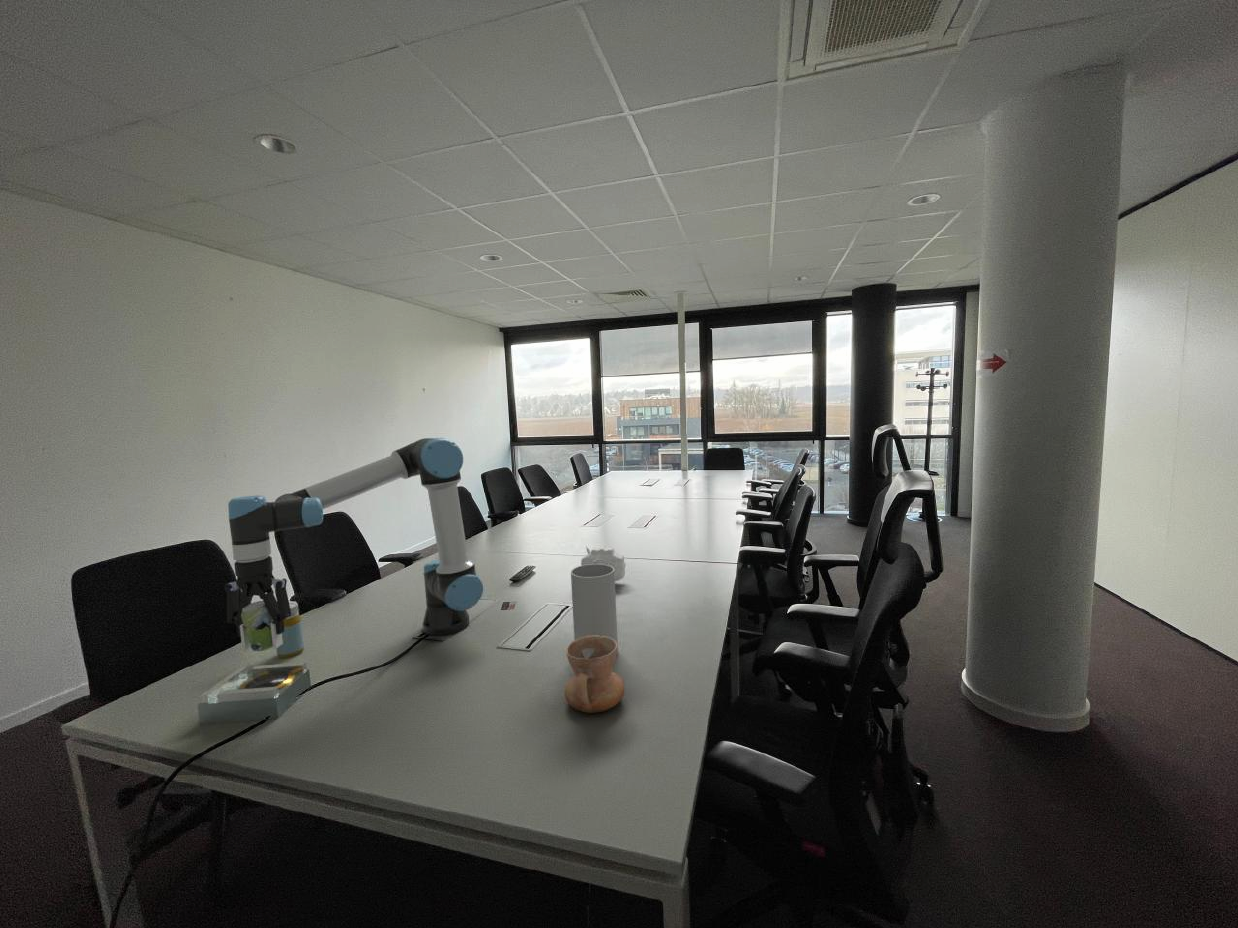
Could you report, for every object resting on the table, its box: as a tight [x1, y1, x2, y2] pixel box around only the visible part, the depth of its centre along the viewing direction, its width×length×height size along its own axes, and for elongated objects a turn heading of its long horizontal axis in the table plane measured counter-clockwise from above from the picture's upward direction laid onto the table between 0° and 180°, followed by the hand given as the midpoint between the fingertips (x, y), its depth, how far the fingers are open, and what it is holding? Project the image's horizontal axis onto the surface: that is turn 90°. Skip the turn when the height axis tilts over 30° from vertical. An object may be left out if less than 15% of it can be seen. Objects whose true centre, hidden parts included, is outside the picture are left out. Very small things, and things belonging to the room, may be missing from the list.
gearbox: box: [197, 662, 312, 725], centre depth 125 cm, size 18×14×7 cm
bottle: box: [275, 602, 305, 659], centre depth 153 cm, size 7×7×15 cm
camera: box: [580, 545, 626, 582], centre depth 203 cm, size 11×18×16 cm, turn 80°
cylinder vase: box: [570, 564, 619, 659], centre depth 143 cm, size 12×12×25 cm
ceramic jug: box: [564, 635, 626, 714], centre depth 118 cm, size 18×14×14 cm
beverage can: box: [241, 600, 274, 653], centre depth 124 cm, size 6×7×12 cm
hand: (262, 646), depth 125 cm, fingers closed on beverage can, 7 cm apart
